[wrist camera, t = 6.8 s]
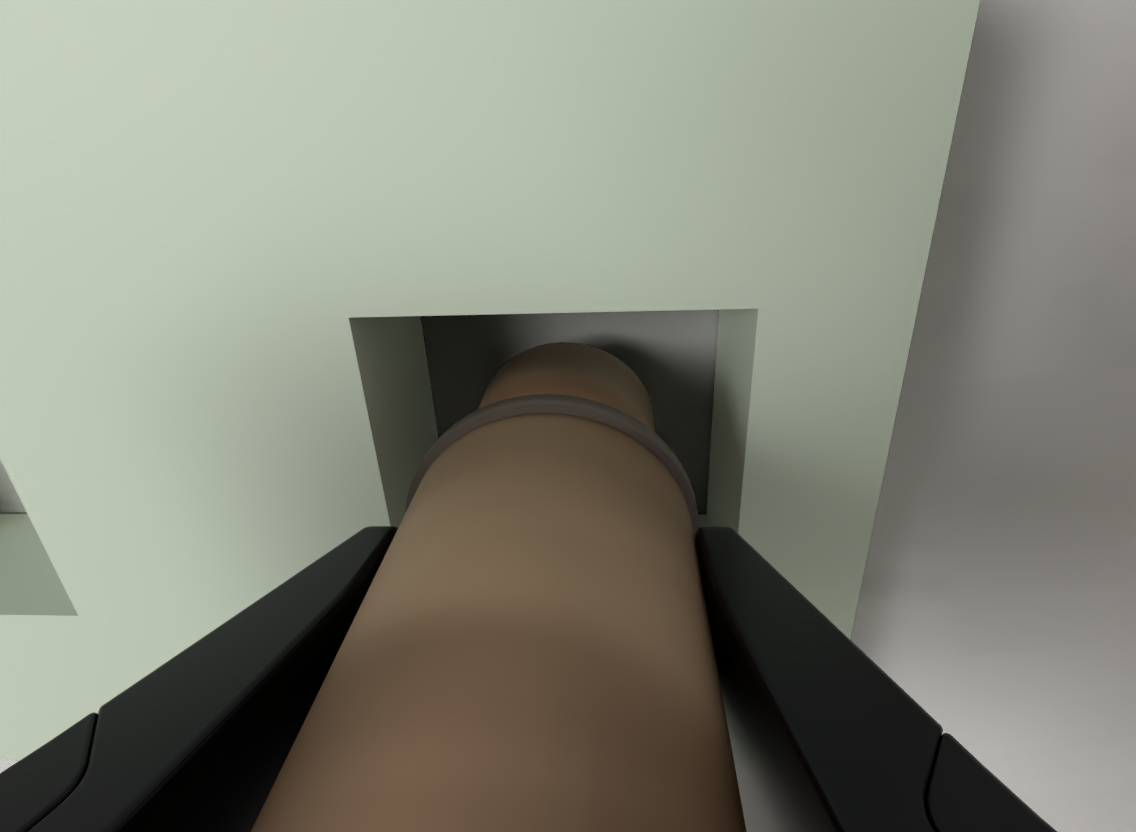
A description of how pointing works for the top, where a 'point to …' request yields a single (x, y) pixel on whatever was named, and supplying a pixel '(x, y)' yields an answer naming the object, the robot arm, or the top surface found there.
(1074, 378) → the top surface
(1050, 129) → the top surface
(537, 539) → the peg
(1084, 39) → the top surface
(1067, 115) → the top surface
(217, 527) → the board
